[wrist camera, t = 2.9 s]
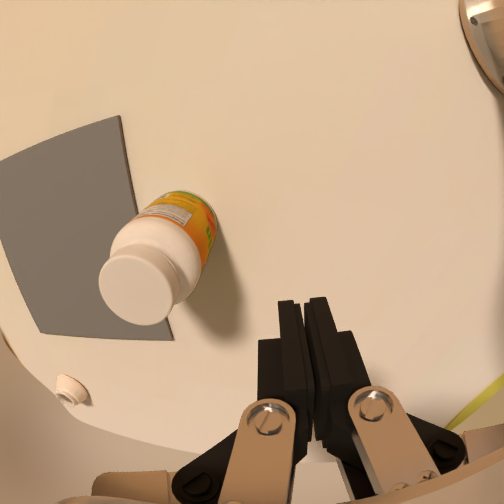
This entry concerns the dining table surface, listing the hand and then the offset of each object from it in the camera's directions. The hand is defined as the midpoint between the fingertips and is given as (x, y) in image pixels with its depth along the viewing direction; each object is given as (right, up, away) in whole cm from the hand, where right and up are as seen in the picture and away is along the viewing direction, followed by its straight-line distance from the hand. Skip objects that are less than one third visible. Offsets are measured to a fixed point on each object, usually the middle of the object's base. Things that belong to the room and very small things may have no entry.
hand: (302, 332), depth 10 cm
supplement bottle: (-7, +5, +12) cm, 15 cm away
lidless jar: (-27, -16, +23) cm, 38 cm away
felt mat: (-19, +3, +13) cm, 24 cm away
